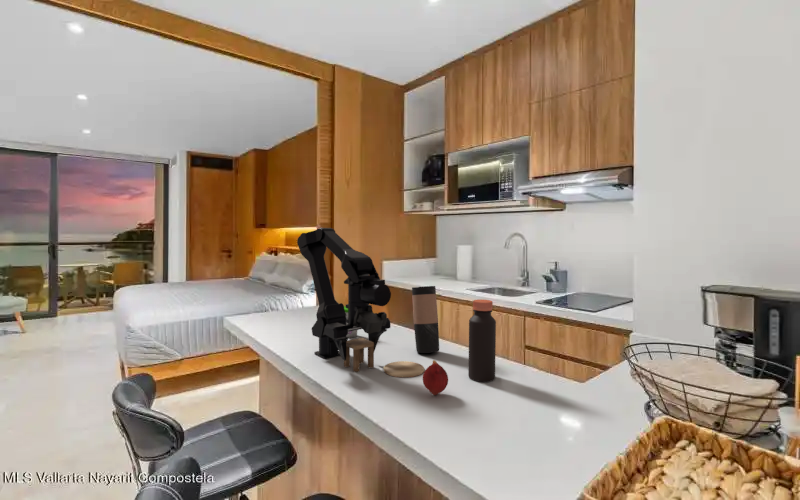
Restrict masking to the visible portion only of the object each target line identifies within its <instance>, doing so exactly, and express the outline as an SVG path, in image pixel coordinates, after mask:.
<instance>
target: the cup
mask: <svg viewBox="0 0 800 500" xmlns="http://www.w3.org/2000/svg"><path fill="white" fill-rule="evenodd" d="M344 310H345V313H346V315H347V316H346V318H347V319H348V308H346V305H344ZM346 325H348V323H346ZM346 337H349V338H348V339H351V338H356V337H358V330H354V331H349V332H348V334H347V335H346Z"/></svg>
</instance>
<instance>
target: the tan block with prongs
mask: <svg viewBox="0 0 800 500" xmlns="http://www.w3.org/2000/svg"><path fill="white" fill-rule="evenodd" d="M366 348H367V368H368V369H372V368H375V367H374V366H375V365H374V364H375V360H374V359H375V351H374V342H372V341H369V339H366V338H363V337H359V338H355V339H354V338H353V339H348V340H347V342H346V353H347V356H346V360H345V361H344V360H343V367H345V368H349V367H350V366H351V363H350V361H351V358H350V357H351V354H350V353H351V350H350V349H352V350H353V352H352V361H353V362H352V370H353V372H355V373H357V372H360V365H361V364H364V363H365V349H366Z"/></svg>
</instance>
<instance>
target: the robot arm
mask: <svg viewBox="0 0 800 500" xmlns="http://www.w3.org/2000/svg"><path fill="white" fill-rule="evenodd" d="M296 243H297V246H298V249H299V252H300V255H301V256H302V257H303V258H304V259H306V261H307V262H308V264H309V265H308V266H309V270H310V273H311V276H312V281H313V284H314V289H315V293H316V297H317V300H318V301H317V302H318V308H317V312H316V316H315V317H316V321H315V323H313V326H312V327H311V333H312V336H313V337H317V338H318V350H317V351H314V355H316V356H318V357H320V358H323V359H328V358H332V357H333V358H334V357H337V356H341V359H342V361H343V362H344V361H345V360H346V356H347V353H346V342H347V341H348V340H349V339H350V338H349V337H346V335H347V334H348V332H349V331H354V330H357V331H359V330H363V331H364V333H365V334H367V336H368V337H367V338H368V340H369V341H372V342H374V352H375V350H376V348H377V346H378V343H379V340H380V337H381V335H383V334H384V333H386V332H387V331H388V329H391V320H390V319H389V317H388V315H387V313H386V312H385V311H380V312H373V306H378V307H384V306H387V305H388V304H389V302H390V300H391V297H392V291H391V289H390V287H389V286H388V285H387V284H386V280H385V279H381V278H380V276H379V273H378V271H377V270H376V267H375V265H374V263H373V260H372V257H371V256H369V255H367V254H365V253H363V252H362V251H358V250H355V249H354V248H353V247H352V246H351V245H350V244H348V242H346V241H345V240H344V239H343V238H342V237H341V236H340V235H339V234H338V233H336V230H335V228H332V227H319V228H316V229H315V230H312V231H309V232H302V233H301V234H300V235H299V236H298V237H297V241H296ZM327 248H328V250H329V251H330V252H331V253H332V254H333V255H334V256H335V257H336V258H337V259H338V260H339V261H340V268H341V269H342V270H343V272H344V274H345V275H346V276H347V278H346V279H345V280H344V281H343V284H345V285H347V286H348V287H347V289H348V290H347V292H348V293H347V294H348V295H347V302H348V303H346V304H345V305H344V304H343V303H342V302H341V303H339V302H338V301H336V298H335V295H334V291H333V287H332V284H331V279H330V275H329V271H328V269H327V264H326V260H325V254H326V251H327ZM372 305H373V306H372ZM344 306H346V308H348V319H347V318H346V316H347V315H346V313H345V310H344ZM346 323H348V325H346Z"/></svg>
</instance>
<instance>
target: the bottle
mask: <svg viewBox="0 0 800 500" xmlns="http://www.w3.org/2000/svg"><path fill="white" fill-rule="evenodd" d="M472 312H473V315H472V316H471V317H470V319H469V321H468V368H467V370H468V377H469V379H471V380H472V381H474V382H479V383H488V382H493V381H494V380H495V378H496V345H497V343H496V340H497V339H496V336H497V335H496V334H497V333H496V331H497V320H496V319H495V318H494V316H493V315H492V312H493V301H492V300H489V299H474V300H473V301H472Z"/></svg>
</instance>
